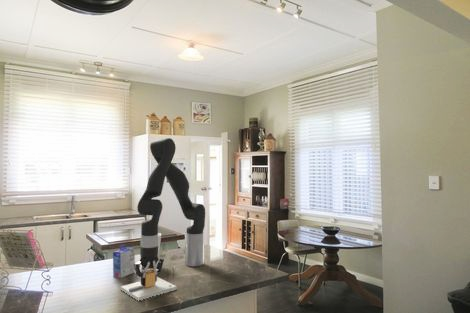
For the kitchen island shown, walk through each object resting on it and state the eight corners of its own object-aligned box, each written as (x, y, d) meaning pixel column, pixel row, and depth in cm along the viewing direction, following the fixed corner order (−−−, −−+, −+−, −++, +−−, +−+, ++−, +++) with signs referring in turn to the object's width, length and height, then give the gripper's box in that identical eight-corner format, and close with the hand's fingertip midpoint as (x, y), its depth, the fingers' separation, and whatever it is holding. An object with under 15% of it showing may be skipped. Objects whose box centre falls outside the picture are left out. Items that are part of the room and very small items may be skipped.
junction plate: (120, 290, 142) (120, 277, 142) (157, 280, 154) (157, 268, 154) (138, 301, 130) (138, 287, 130) (176, 289, 143) (176, 277, 143)
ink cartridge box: (126, 270, 167) (127, 242, 167) (135, 272, 165) (135, 243, 165) (112, 276, 158) (112, 246, 158) (120, 278, 156) (121, 248, 156)
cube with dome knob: (145, 287, 139) (146, 272, 140) (141, 284, 142) (141, 269, 143) (155, 285, 142) (155, 270, 143) (150, 282, 145) (150, 267, 146)
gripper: (138, 249, 135) (137, 291, 134) (168, 243, 145) (167, 282, 144) (130, 246, 140) (129, 286, 140) (159, 240, 150) (158, 278, 150)
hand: (148, 284), depth 142 cm, fingers closed on cube with dome knob, 4 cm apart
